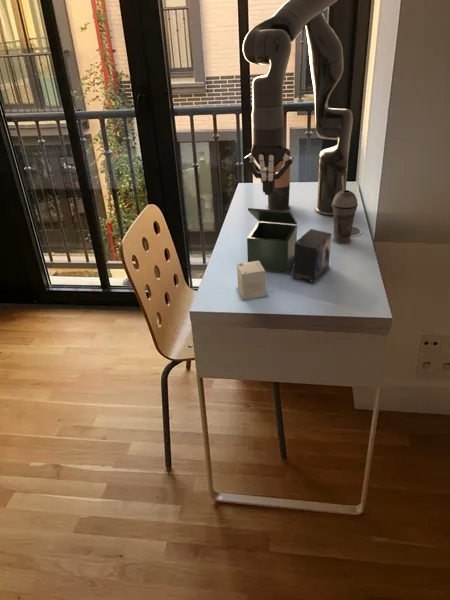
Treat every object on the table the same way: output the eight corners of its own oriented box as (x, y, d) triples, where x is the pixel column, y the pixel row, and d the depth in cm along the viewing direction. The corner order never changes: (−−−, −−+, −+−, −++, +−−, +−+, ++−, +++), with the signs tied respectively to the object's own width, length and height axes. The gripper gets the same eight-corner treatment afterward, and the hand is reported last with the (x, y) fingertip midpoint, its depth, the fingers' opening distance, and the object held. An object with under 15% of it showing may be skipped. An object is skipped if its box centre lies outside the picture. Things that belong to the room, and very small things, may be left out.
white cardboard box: (266, 296, 128) (266, 270, 124) (242, 300, 127) (241, 274, 123) (259, 285, 133) (259, 260, 129) (237, 288, 132) (236, 263, 128)
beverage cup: (354, 246, 149) (360, 180, 139) (329, 245, 151) (333, 179, 140) (354, 235, 156) (360, 171, 145) (330, 234, 157) (334, 171, 146)
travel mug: (293, 205, 179) (294, 148, 169) (283, 213, 174) (284, 154, 163) (273, 202, 183) (273, 146, 172) (263, 209, 177) (263, 152, 167)
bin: (287, 273, 138) (287, 241, 133) (247, 268, 141) (246, 238, 136) (296, 254, 147) (297, 224, 142) (259, 250, 150) (258, 221, 145)
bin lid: (289, 213, 130) (289, 211, 130) (247, 210, 133) (248, 208, 133) (297, 224, 142) (297, 222, 142) (258, 221, 145) (258, 219, 145)
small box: (314, 284, 132) (316, 248, 126) (292, 279, 135) (292, 243, 129) (330, 267, 139) (332, 232, 134) (308, 262, 142) (309, 228, 137)
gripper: (298, 120, 121) (297, 190, 130) (245, 119, 125) (248, 187, 134) (292, 128, 115) (291, 201, 124) (236, 127, 119) (239, 197, 128)
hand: (268, 193), depth 129 cm, fingers closed
